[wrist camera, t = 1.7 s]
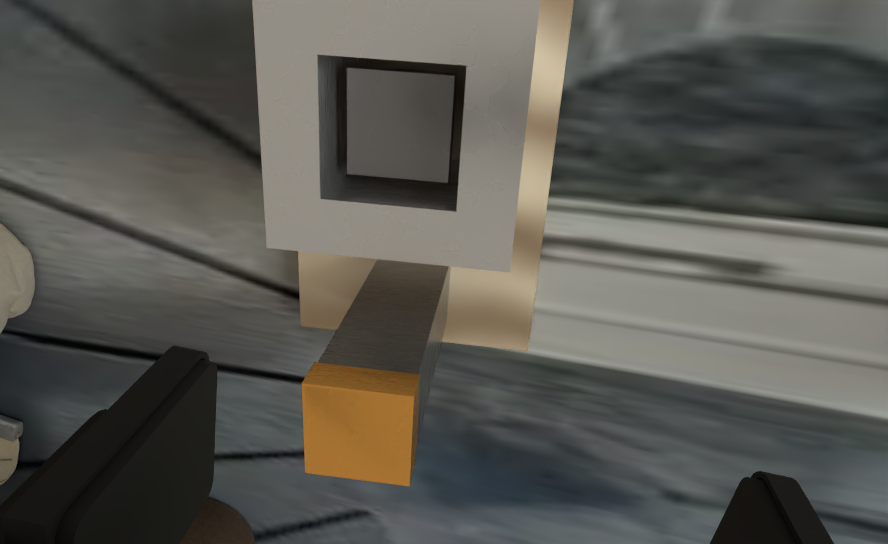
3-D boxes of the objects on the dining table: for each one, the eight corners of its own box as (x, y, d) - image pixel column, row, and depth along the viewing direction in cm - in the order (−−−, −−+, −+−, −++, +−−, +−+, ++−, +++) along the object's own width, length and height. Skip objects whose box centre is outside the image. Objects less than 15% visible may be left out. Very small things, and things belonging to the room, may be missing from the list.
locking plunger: (450, 176, 28) (447, 182, 27) (353, 167, 28) (347, 173, 27) (457, 72, 26) (454, 75, 25) (354, 65, 26) (347, 67, 25)
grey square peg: (448, 321, 37) (409, 486, 24) (379, 313, 38) (305, 472, 25) (453, 256, 36) (414, 396, 23) (380, 248, 36) (301, 383, 23)
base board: (527, 339, 39) (527, 351, 37) (308, 315, 40) (300, 326, 38) (599, -214, 28) (603, -225, 26) (291, -225, 29) (280, -236, 27)
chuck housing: (513, 208, 34) (510, 272, 26) (327, 190, 35) (266, 247, 27) (535, 0, 30) (540, -2, 22) (323, -14, 31) (251, -21, 22)
